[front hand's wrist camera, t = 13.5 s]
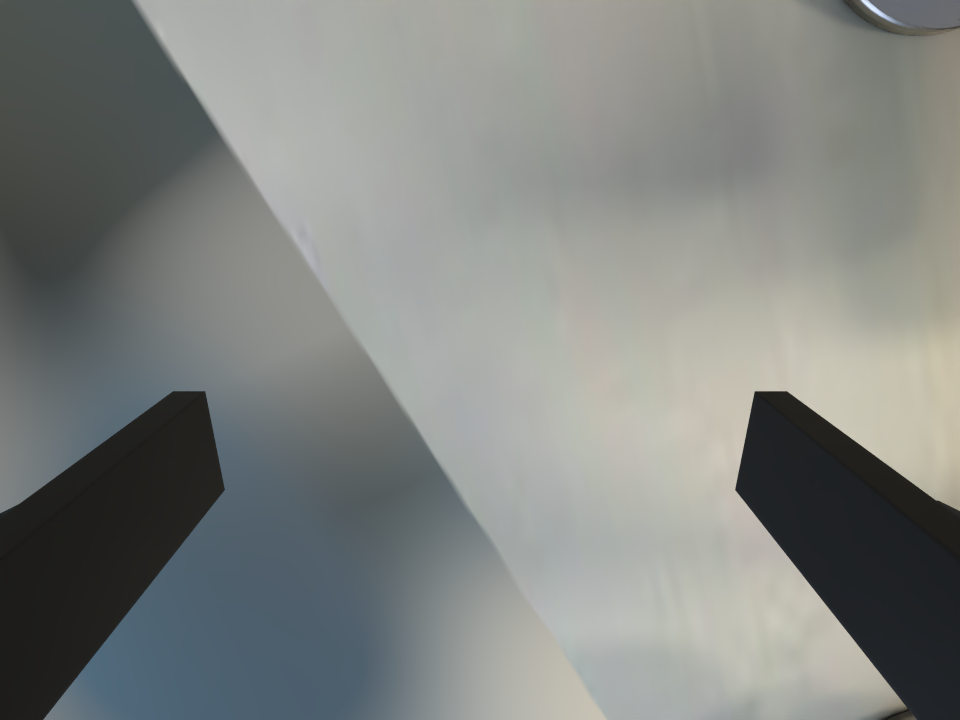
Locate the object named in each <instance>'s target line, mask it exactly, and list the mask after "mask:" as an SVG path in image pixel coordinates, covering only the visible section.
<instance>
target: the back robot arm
mask: <svg viewBox="0 0 960 720" xmlns="http://www.w3.org/2000/svg"><path fill="white" fill-rule="evenodd" d="M887 720H917V719H916V718H915V717H914V715H913V714H912V713H911V712H910V711H908V712H904V713H901V714H898V715H896V716H893V717H891V718H889V719H887Z"/></svg>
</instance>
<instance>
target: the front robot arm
mask: <svg viewBox="0 0 960 720" xmlns="http://www.w3.org/2000/svg"><path fill="white" fill-rule="evenodd" d="M844 1H845V2H846V3H847V5H848V6H849V7H850V8H851V9H852V10H853V11H854V12H855V13H857V14H858V15H859V16H860V17H862V18H863V19H864V20H866V21H867V22H869V23H871V24H873V25H875V26H877V27H879V28H881V29H884V30H887V31H890V32H894V33H898V34H905V35H930V34H938V33H942V32H947V31H951V30H954V29H958V28H960V0H844ZM224 490H225V489H224V484H223V479H222V474H221V469H220V464H219V459H218V454H217V449H216V444H215V438H214V434H213V428H212V423H211V418H210V413H209V408H208V403H207V398H206V393H205V391H173V392H172V393H170V394H169V395H168V396H166V397H165V398H163V399H162V400H161V401H159V402H158V403H157V404H155V405H154V406H153V407H151V408H150V409H149V410H147V411H146V412H144V413H143V414H142V415H140V416H139V417H138V418H136V419H135V420H133V421H132V422H131V423H129V424H128V425H127V426H125V427H124V428H123V429H121V430H120V431H118V432H117V433H116V434H114V435H113V436H112V437H110V438H109V439H108V440H106V441H105V442H103V443H102V444H101V445H99V446H98V447H97V448H95V449H94V450H92V451H91V452H90V453H88V454H87V455H86V456H84V457H83V458H82V459H80V460H79V461H77V462H76V463H75V464H73V465H72V466H71V467H69V468H68V469H67V470H65V471H64V472H63V473H61V474H60V475H58V476H57V477H56V478H54V479H53V480H52V481H50V482H49V483H47V484H46V485H45V486H43V487H42V488H41V489H39V490H38V491H37V492H35V493H34V494H32V495H31V496H30V497H28V498H27V499H26V500H24V501H23V502H21V503H20V504H18V505H16V506H14V507H12V508H10V509H8V510H6V511H4V512H2V513H0V720H43V719H44V718H45V717H46V715H47V714H48V713H49V712H50V710H51V709H52V708H53V707H54V705H55V704H56V703H57V701H58V700H59V699H60V698H61V696H62V695H63V694H64V693H65V691H66V690H67V689H68V687H69V686H70V685H71V684H72V682H73V681H74V680H75V679H76V677H77V676H78V675H79V674H80V672H81V671H82V670H83V669H84V667H85V666H86V665H87V663H88V662H89V661H90V660H91V658H92V657H93V656H94V655H95V653H96V652H97V651H98V650H99V648H100V647H101V646H102V644H103V643H104V642H105V641H106V639H107V638H108V637H109V636H110V634H111V633H112V632H113V631H114V629H115V628H116V627H117V626H118V624H119V623H120V622H121V620H122V619H123V618H124V617H125V615H126V614H127V613H128V612H129V610H130V609H131V608H132V606H133V605H134V604H135V603H136V601H137V600H138V599H139V598H140V596H141V595H142V594H143V593H144V591H145V590H146V589H147V588H148V586H149V585H150V584H151V582H152V581H153V580H154V579H155V577H156V576H157V575H158V574H159V572H160V571H161V570H162V569H163V567H164V566H165V565H166V563H167V562H168V561H169V560H170V558H171V557H172V556H173V555H174V553H175V552H176V551H177V550H178V548H179V547H180V546H181V544H182V543H183V542H184V541H185V539H186V538H187V537H188V536H189V534H190V533H191V532H192V531H193V529H194V528H195V527H196V525H197V524H198V523H199V522H200V520H201V519H202V518H203V517H204V515H205V514H206V513H207V512H208V510H209V509H210V508H211V506H212V505H213V504H214V503H215V501H216V500H217V499H218V498H219V496H220V495H221V494H222V493H223V491H224ZM735 490H736V491H737V493H738V494H739V495H740V496H741V498H742V499H743V500H744V501H745V503H746V504H747V505H748V507H749V508H750V509H751V510H752V512H753V513H754V514H755V515H756V517H757V518H758V519H759V520H760V522H761V523H762V524H763V526H764V527H765V528H766V529H767V531H768V532H769V533H770V534H771V536H772V537H773V538H774V539H775V541H776V542H777V543H778V545H779V546H780V547H781V548H782V550H783V551H784V552H785V553H786V555H787V556H788V557H789V558H790V560H791V561H792V562H793V563H794V565H795V566H796V567H797V569H798V570H799V571H800V572H801V574H802V575H803V576H804V577H805V579H806V580H807V581H808V582H809V584H810V585H811V586H812V588H813V589H814V590H815V591H816V593H817V594H818V595H819V596H820V598H821V599H822V600H823V601H824V603H825V604H826V605H827V607H828V608H829V609H830V610H831V612H832V613H833V614H834V615H835V617H836V618H837V619H838V620H839V622H840V623H841V624H842V626H843V627H844V628H845V629H846V631H847V632H848V633H849V634H850V636H851V637H852V638H853V639H854V641H855V642H856V643H857V644H858V646H859V647H860V648H861V650H862V651H863V652H864V653H865V655H866V656H867V657H868V658H869V660H870V661H871V662H872V663H873V665H874V666H875V667H876V669H877V670H878V671H879V672H880V674H881V675H882V676H883V677H884V679H885V680H886V681H887V682H888V684H889V685H890V686H891V688H892V689H893V690H894V691H895V693H896V694H897V695H898V696H899V698H900V699H901V700H902V701H903V703H904V704H905V705H906V707H907V708H908V709H909V710H910V712H911V713H912V714H913V715H914V717H915V718H916V719H917V720H960V511H958V510H956V509H954V508H952V507H950V506H948V505H946V504H944V503H942V502H940V501H936V500H934V499H933V498H932V497H930V496H929V495H928V494H926V493H925V492H924V491H922V490H921V489H919V488H918V487H917V486H915V485H914V484H913V483H911V482H910V481H908V480H907V479H906V478H904V477H903V476H902V475H900V474H899V473H898V472H896V471H895V470H893V469H892V468H891V467H889V466H888V465H887V464H885V463H884V462H883V461H881V460H880V459H878V458H877V457H876V456H874V455H873V454H872V453H870V452H869V451H868V450H866V449H865V448H863V447H862V446H861V445H859V444H858V443H857V442H855V441H854V440H853V439H851V438H850V437H848V436H847V435H846V434H844V433H843V432H842V431H840V430H839V429H837V428H836V427H835V426H833V425H832V424H831V423H829V422H828V421H827V420H825V419H824V418H822V417H821V416H820V415H818V414H817V413H816V412H814V411H813V410H812V409H810V408H809V407H807V406H806V405H805V404H803V403H802V402H801V401H799V400H798V399H797V398H795V397H794V396H792V395H791V394H790V393H788V392H787V391H755V393H754V398H753V403H752V408H751V413H750V418H749V423H748V428H747V433H746V438H745V443H744V449H743V454H742V459H741V464H740V469H739V474H738V479H737V484H736V489H735Z"/></svg>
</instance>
